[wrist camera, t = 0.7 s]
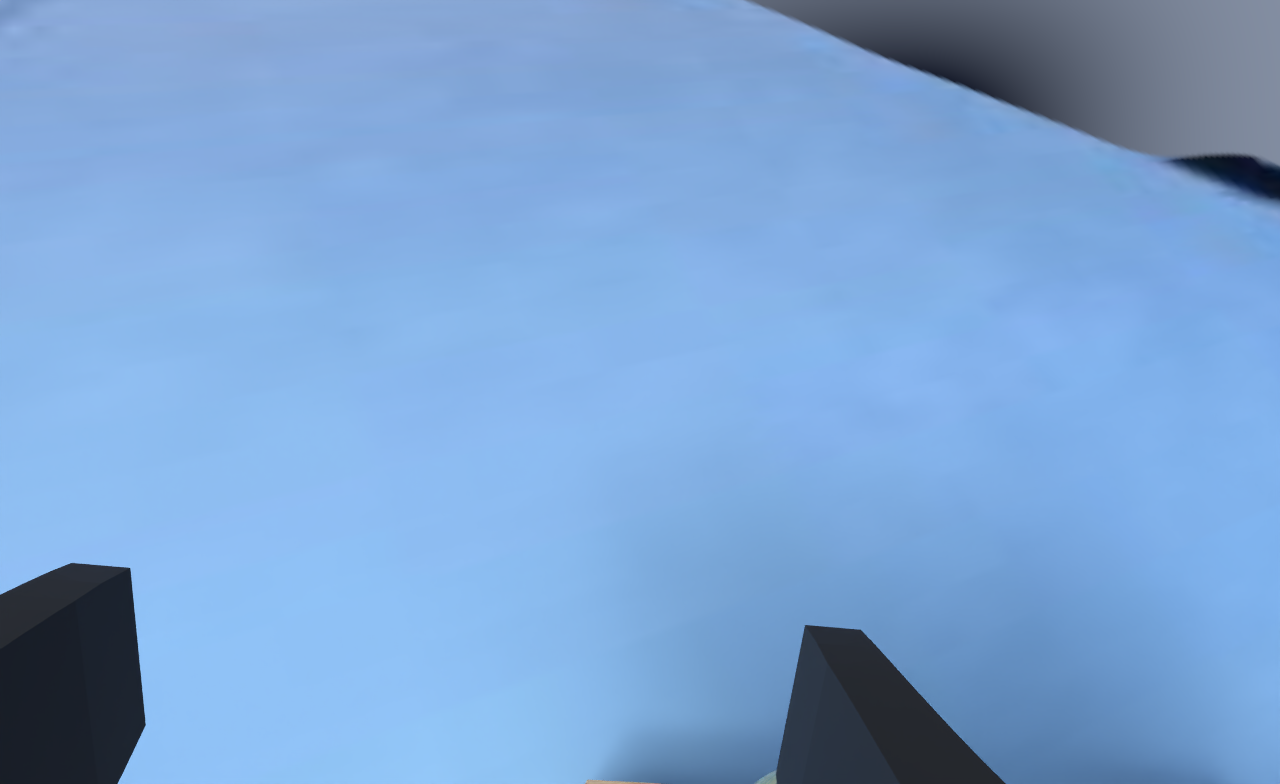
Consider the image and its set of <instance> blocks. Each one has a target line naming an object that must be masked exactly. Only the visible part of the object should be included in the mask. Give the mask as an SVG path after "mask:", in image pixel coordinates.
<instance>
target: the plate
mask: <svg viewBox="0 0 1280 784" xmlns="http://www.w3.org/2000/svg"><path fill="white" fill-rule="evenodd" d="M585 784H659V783H640V782H621V781H601V780H587V781H586V783H585Z"/></svg>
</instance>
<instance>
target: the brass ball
mask: <svg viewBox="0 0 1280 784" xmlns="http://www.w3.org/2000/svg"><path fill="white" fill-rule="evenodd" d="M776 771H777V770H775V771H773V772H770V773H768V774H767V775H765V776H763V777H762V778H760V779H759V780H758V781H756V782H755V783H754V784H777V780H776Z"/></svg>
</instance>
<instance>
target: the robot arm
mask: <svg viewBox="0 0 1280 784" xmlns="http://www.w3.org/2000/svg"><path fill="white" fill-rule="evenodd" d="M145 725H146V724H145V714H144V704H143V693H142V683H141V673H140V663H139V653H138V642H137V632H136V622H135V612H134V602H133V592H132V581H131V571H130V568H124V567H112V566H101V565H89V564H77V563H70V564H68V565H65V566H63V567H60V568H58V569H55V570H53V571H50V572H48V573H46V574H44V575H41V576H39V577H37V578H35V579H33V580H30V581H28V582H26V583H24V584H22V585H20V586H18V587H16V588H14V589H11V590H9V591H7V592H5V593H3V594H1V595H0V784H117V783H118V781H119V779H120V778H121V776H122V774H123V772H124V769H125V767H126V765H127V763H128V761H129V759H130V757H131V755H132V753H133V751H134V748H135V746H136V744H137V742H138V740H139V738H140V736H141V734H142V732H143V729H144V727H145ZM776 780H777V784H1005V783H1004V782H1003V781H1002V780H1001V779H1000V778H999V777H998V776H997V775H996V774H995V773H994V772H993V771H992V770H991V769H990V768H989V767H988V766H987V765H986V764H985V763H984V762H983V761H982V760H981V759H980V758H979V757H978V756H977V755H976V754H975V753H974V752H973V751H972V749H971V748H970V747H969V746H968V745H967V744H966V743H965V742H964V741H963V740H962V739H961V738H960V737H959V736H958V735H957V734H956V733H955V732H954V731H953V730H952V729H951V728H950V726H949V725H948V724H947V723H946V722H945V721H944V720H943V719H942V718H941V717H940V716H939V715H938V714H937V713H936V711H935V710H934V709H933V708H932V707H931V706H930V705H929V704H928V703H927V702H926V701H925V699H924V698H923V697H922V696H921V695H920V694H919V693H918V692H917V691H916V690H915V688H914V687H913V686H912V685H911V684H910V683H909V682H908V681H907V680H906V679H905V677H904V676H903V675H902V674H901V673H900V672H899V671H898V670H897V669H896V667H895V666H894V665H893V664H892V663H891V662H890V661H889V660H888V659H887V657H886V656H885V655H884V654H883V653H882V652H881V651H880V650H879V649H878V648H877V646H876V645H875V644H874V643H873V642H872V641H871V640H870V639H869V638H868V637H867V636H866V635H865V634H864V633H863V632H862V631H861V630H856V629H844V628H833V627H821V626H809V625H805V629H804V634H803V639H802V644H801V649H800V654H799V659H798V664H797V669H796V674H795V680H794V685H793V690H792V695H791V700H790V705H789V710H788V715H787V720H786V725H785V730H784V735H783V740H782V746H781V751H780V756H779V761H778V766H777V771H776Z"/></svg>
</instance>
